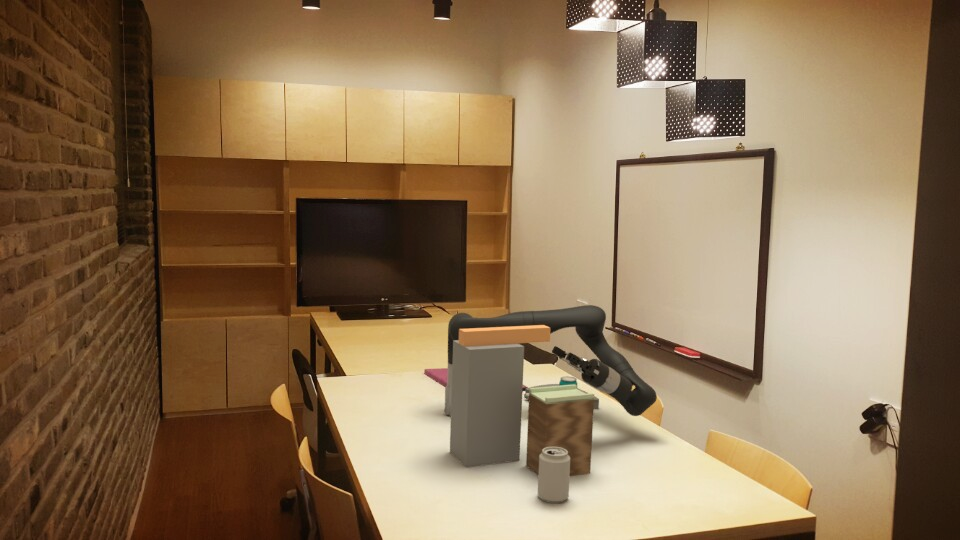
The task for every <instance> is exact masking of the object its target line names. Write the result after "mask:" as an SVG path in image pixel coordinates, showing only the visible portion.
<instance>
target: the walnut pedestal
mask: <svg viewBox="0 0 960 540" xmlns="http://www.w3.org/2000/svg"><path fill="white" fill-rule="evenodd" d="M594 411H595V410H594V400H586V401H575V402H565V403H555V404H546V403H544V402H542V401H541V400H539V399H537V398H536V397H534V396H532V395H531V394H529V400H528V411H527V412H528V417H527V433H526V434H527V437H526V439H527V440H526V458H525V459H526V460H525V463H526V464H525V466H526V467H527V468H528V467H529V468H528V469H529V470H530V471H532V472H533V473H535V474H536V475H537V477H538V476H539V455H540V454H541V453H542V450H543V449H544V448H546V447H561V448H564V449H566V450H567V451H568V455H569V456H570V475H569V477H572V476H573V477H574V476H579V475H587V474H591V464H592V445H593V444H592V443H593V426H594V425H593V424H594Z"/></svg>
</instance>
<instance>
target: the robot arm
mask: <svg viewBox="0 0 960 540" xmlns="http://www.w3.org/2000/svg"><path fill="white" fill-rule="evenodd" d="M606 314H607V313H606V311H605V310H604V309H603V308H602V307H600V306H597V305H591V304H586V305H579V306H573V307H566V308H560V309H559V308H558V309H546V310H524V311H523V310H522V311H516V312H509V313H506V314H501V315H499V316H494V317H493V316H492V317H473V316H472V315H470V314H469V313H467V312H459V313H455V314H454V315H453V316H452V317H451V318H450V319H449V321H448V324H447V325H448V327H447V368H448V373H447V385H446V387H445V386H444V387H445V388H444V415H445V416H450V417H451V395H452V362H453V340H459V329H469V328H490V327H511V326H532V325H545V326H548V327H550V335H551V334H552V333H555V332H557V331H560V330H563V329H567V328H575V329H574V330H575V333H576V334H577V336H578V338H580V340H581V341H582V342H583V343H584V344H585V345H586V346H587V347H588V348H589V350H591V352H592V353H593V355H595V356H596V357H597V358H598V359H597V358H591V359H590V360H588V359H586V358H584V357H580V356H578V355H576V354H574V353H573V352H568V351H566V350H563V349H562V348H561V347H558V346H557V345H555V346H553V348H552V349H551V353H552V354H553V355H555V356H557V357H558V358H559V360H562V361H564V362H566V364H567V365H568V366H570V367H571V368H574V369H575V370H576V371H577V372H579V373H581V375H580V376H581V380H582V381H583V382H585V383H587V385H590V386H591V387H593V388H594V389H597V390H598V391H600V392H602V393H604V394H606V395H608V396H610V397H611V398H613V399H615V400H616V402H618V403H619V404H620V405H621V406H622V408H623V409H624V410H625V411H626V413H628V414H629V415H630V416H633V417H640V416H641V415H642V414H643V413H644V412H645V411H647V410H648V409H649V408H650V407H651V406H653V404H655V403H656V402H657V397H658V396H657V393H656V390H655V389H654V388H653V387H652V386H651V385H649V384H648V383H647V382H645V381H644V379H642V378H641V377H640V376H639V375H638V374H637V373H636V372H635V370H634V368H633V367H632V365H631V364H630V362H629V361H628V359H627V358H626V357H625V356H624V355H623V354H622V353H621V352H619V351H617V350H616V349H614V348H613V347H612V346H611V345H610V344H609V343H608V341H607V339H606V337H605V335H604V333H603V331H604V329H605V324H606V318H607V315H606ZM633 387H634V388H633Z"/></svg>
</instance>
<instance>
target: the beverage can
mask: <svg viewBox="0 0 960 540" xmlns="http://www.w3.org/2000/svg"><path fill="white" fill-rule="evenodd" d="M577 380H578V379H577V377H574V376H561V377H560V380H559V383H558V384H559V386H562V385H573V384H575V385H577V386H578V381H577Z"/></svg>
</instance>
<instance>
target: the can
mask: <svg viewBox="0 0 960 540" xmlns="http://www.w3.org/2000/svg"><path fill="white" fill-rule="evenodd" d="M569 475H570V456H569V455H568V451H567V450H566V449H564V448H561V447H546V448H544V449H543V450H542V453H541V454H540V455H539V476H538V475H537V477H538V480H537V481H538V482H537V495H538V497H539V498H540V499H541V500H542V501H544V502H546V503H550V504H558V503H559V504H560V503H562V502H564V501H565V500H567V499H568V497H569V495H570V494H569V491H570V476H569Z"/></svg>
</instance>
